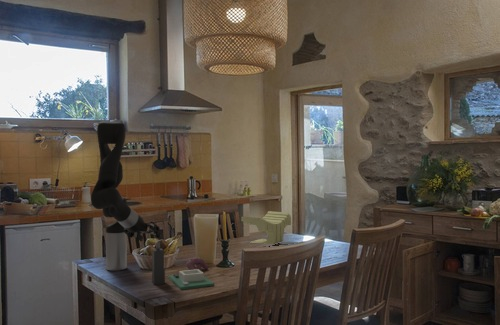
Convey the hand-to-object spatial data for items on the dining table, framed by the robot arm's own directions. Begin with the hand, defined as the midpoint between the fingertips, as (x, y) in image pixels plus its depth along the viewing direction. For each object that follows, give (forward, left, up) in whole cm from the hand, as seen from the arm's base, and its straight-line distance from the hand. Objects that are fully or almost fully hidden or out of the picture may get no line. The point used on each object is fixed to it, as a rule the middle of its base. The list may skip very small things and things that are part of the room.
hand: (150, 238), depth 203 cm
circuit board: (+10, +15, -18) cm, 25 cm away
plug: (+7, +2, -18) cm, 19 cm away
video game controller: (-7, +23, -18) cm, 30 cm away
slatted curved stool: (-50, +80, -18) cm, 96 cm away
